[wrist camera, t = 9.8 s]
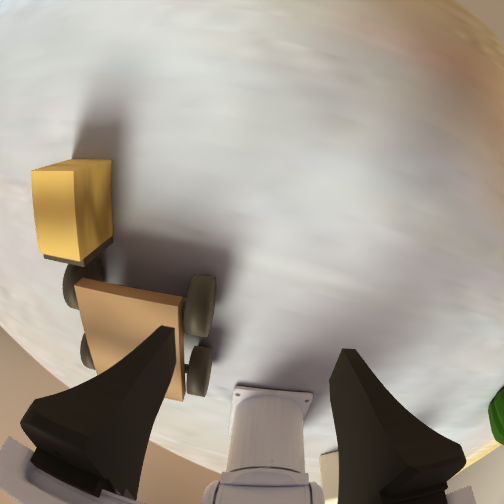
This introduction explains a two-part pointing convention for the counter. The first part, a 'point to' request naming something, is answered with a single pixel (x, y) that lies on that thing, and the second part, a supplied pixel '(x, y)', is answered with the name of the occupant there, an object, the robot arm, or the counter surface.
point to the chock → (73, 209)
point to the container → (330, 476)
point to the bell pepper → (497, 417)
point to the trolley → (141, 323)
